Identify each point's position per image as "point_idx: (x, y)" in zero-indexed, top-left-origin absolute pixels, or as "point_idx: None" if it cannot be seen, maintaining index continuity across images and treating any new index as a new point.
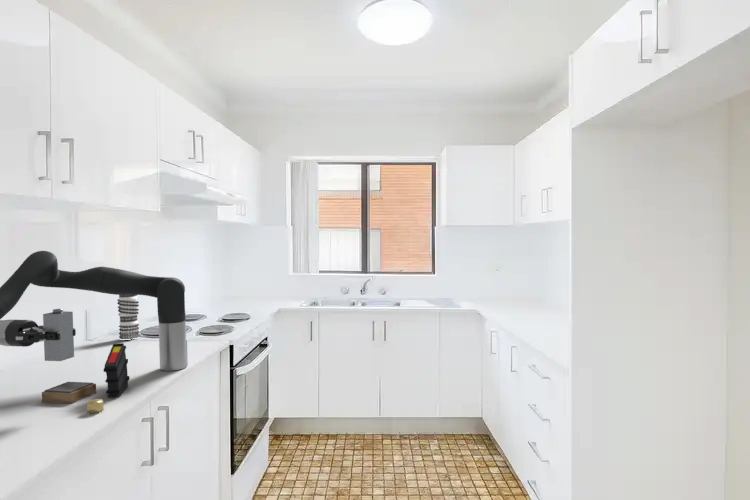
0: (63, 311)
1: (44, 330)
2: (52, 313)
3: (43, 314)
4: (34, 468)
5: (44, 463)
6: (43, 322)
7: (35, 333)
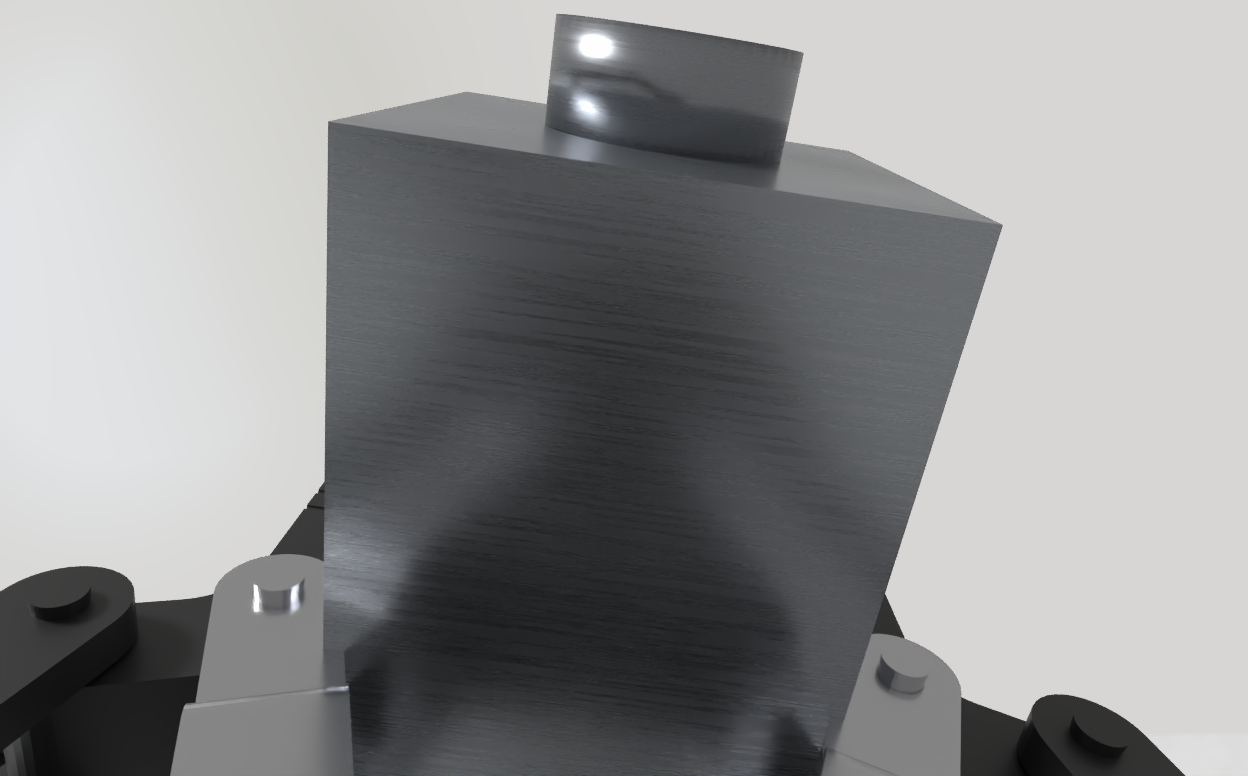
0: (415, 106)
1: (841, 680)
2: (790, 167)
3: (992, 232)
4: (1215, 756)
5: (1167, 747)
6: (915, 491)
7: (1135, 727)
